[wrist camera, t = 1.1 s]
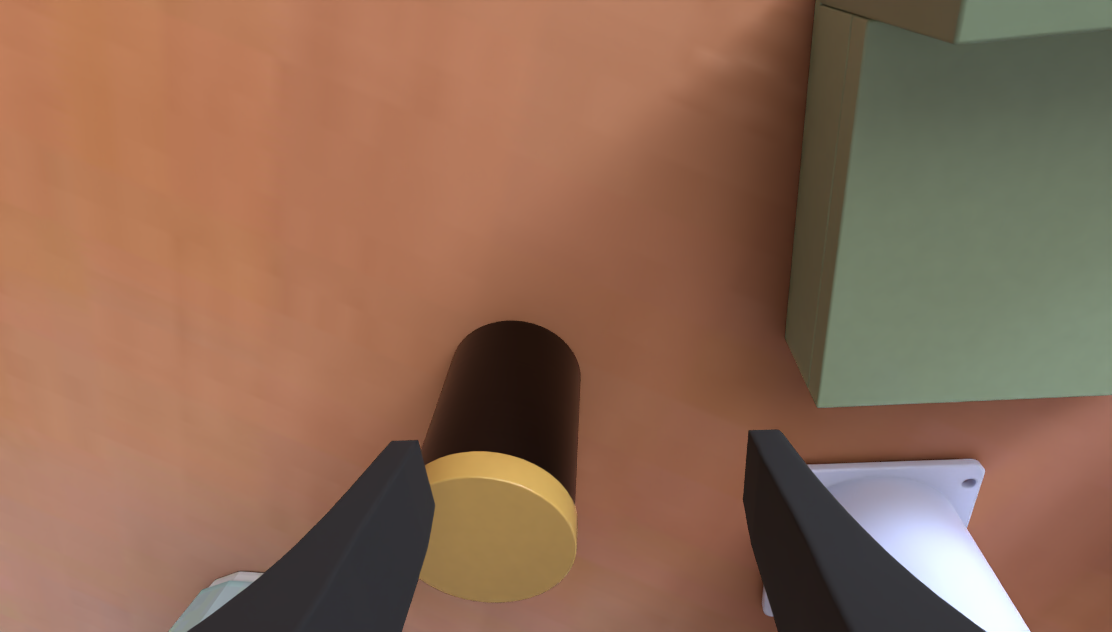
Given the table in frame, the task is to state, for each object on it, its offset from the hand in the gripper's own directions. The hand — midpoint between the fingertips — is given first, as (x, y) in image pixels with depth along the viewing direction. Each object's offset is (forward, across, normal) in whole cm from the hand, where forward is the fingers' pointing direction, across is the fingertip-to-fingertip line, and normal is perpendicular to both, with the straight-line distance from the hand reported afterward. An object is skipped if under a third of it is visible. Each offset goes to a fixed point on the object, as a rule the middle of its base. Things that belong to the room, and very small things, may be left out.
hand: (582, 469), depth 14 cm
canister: (+10, +3, +4) cm, 11 cm away
